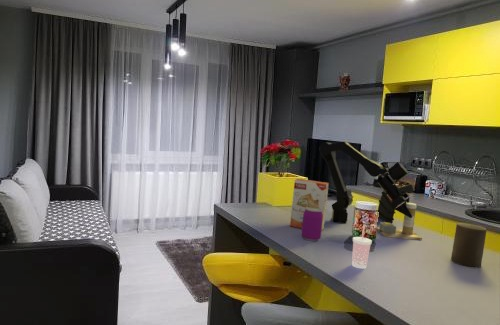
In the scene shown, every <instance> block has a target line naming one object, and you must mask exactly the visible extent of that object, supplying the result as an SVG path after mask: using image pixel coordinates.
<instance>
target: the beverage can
mask: <svg viewBox="0 0 500 325" xmlns="http://www.w3.org/2000/svg"><path fill="white" fill-rule="evenodd" d="M322 221H323V214H322V210H321V209H319V208H314V207H307V208H306V209H305V211H304V213H303V223H302V228H301V237H302V239H304V240H306V241H309V242H317V241H319V240H321V238H322V231H323V230H322Z"/></svg>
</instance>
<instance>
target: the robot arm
mask: <svg viewBox="0 0 500 325" xmlns="http://www.w3.org/2000/svg"><path fill="white" fill-rule="evenodd" d="M318 150H319V153H320V155H321V157H322V158H323V159H324V161H325V162H326V164H327V167H328V170H329V172H330V173H329V174H330V175H331V179H332V181H333V184H334V187H335V197H336V198H335V199H336V201H335V202H333V203H332V204H331V208H332V211H331V212H332V214H331V218H330V221H331V222H332V223H335V224H336V223H337V224H347V222H348V215H349V214H348V208H349V206H351V205H352V204H353V201H354V200H353V198H354V196H353V194H352V190H351V189H347V187H346V186H345V183H344V180H343V177H342V174H341V173H342V172H341V171H340V168H339V165H338V163H337V159H336V158H337V155H336V154H337V153H336V152H338V151H343V152H344V153H345V154H347V155H348V156H349V157H351V158H352V159H353V160H355V161H356V162H358V163H359V164H360V165H361V166H362V167H363V168H364V170H365V171H366V172H367V173H368V174H369V176H371V177H373V183H372V184H373V186H375V185H377V184H378V185H379V186H380V188H381V189H382V190H383V191H385V192H386V193H385V194H386V195H388V196H389V197H390V199H391V201H392V202H391V205H390V206H391V207H392V208H393V209H394V208H395V211H397V212H398V213H400V214H402V215H403V216H404V215H406V216H408V217H409V218H412V215H411V213H410V211H409V209H408V208H407V206H406V204H407V203H410V199H411V196H410V194H409V193H412V192H415V191H416V190H415V187H414V186H415V185H414V184H413V183H411V182H410V181H408V182H407V181H406V182H405V183H404V185H401V186H399V184H396V183H395V181H397V182H398V181H400V180H402V179H403V178H405V177H406V176H407V175H409V174H410V173H409V170H407V168H406V167H405V166H404V165H402V164H401V163H400V162H399V161H397V162H396V163H394V165H392V166H391V167H390V168H388V167H384V166H383V165H382V164H381V163H379V162H377V161H374V160H373V159H370V158H369V157H367V156H366V155H364V154H363V153H362V152H360V151H359V150H357V149H356V148H354V147H353V146H352V145H351V144H350V143H349V142H348V141H340V142H335V143H332V142H322V143H321V144H320V145H319V147H318ZM384 175H385V176H384ZM378 176H379V177H378ZM374 177H375V178H374ZM376 177H377V178H376Z"/></svg>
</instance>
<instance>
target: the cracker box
mask: <svg viewBox="0 0 500 325" xmlns="http://www.w3.org/2000/svg"><path fill="white" fill-rule="evenodd" d="M293 184H294V186H293V194H292V202H291V203H292V204H291V212H290V213H291V214H290V222H289V226H290V227H293V228H294V227H295V228H299V229H302V223H303V213H304V211H305V209H306V208H307V207H314V208H319V209H321V210H322V214H323V221H322V231H323V230H324V228H325V220H326V213H327V212H326V211H327V205H328V204H327V202H328V195H329V194H328V193H329V184H330V183H329V182H325V181H323V182H322V181H318V180H317V181H316V180H311V179H303V178H296V179H295V180H294V183H293Z"/></svg>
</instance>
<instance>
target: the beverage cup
mask: <svg viewBox="0 0 500 325" xmlns="http://www.w3.org/2000/svg"><path fill="white" fill-rule="evenodd" d="M365 227H366V225H365V224H363V225H362V233H361V236H353V237H352V255H351V256H352V260H351V265H352V267H354V268H357V269H366V268H367V265H368V261H369V260H368V259H369V254H370V250H371V245H372V243H373V240H372V239H370V238H367V237H364V236H365Z"/></svg>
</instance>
